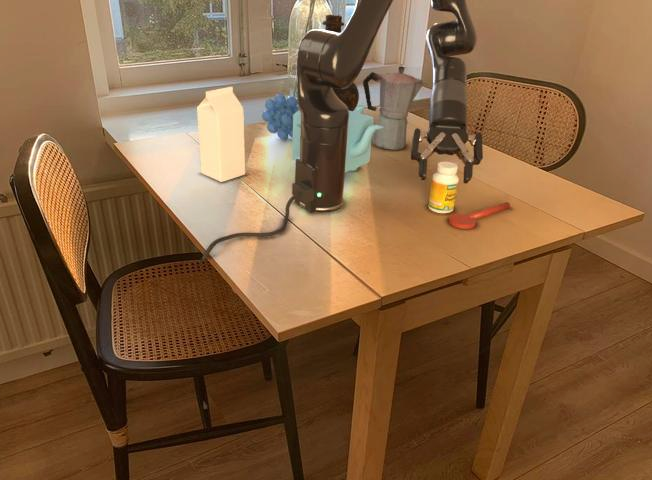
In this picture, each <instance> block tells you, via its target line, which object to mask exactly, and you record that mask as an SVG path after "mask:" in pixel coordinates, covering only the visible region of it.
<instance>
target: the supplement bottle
mask: <svg viewBox="0 0 652 480" xmlns="http://www.w3.org/2000/svg"><path fill="white" fill-rule="evenodd" d="M458 167H459V166H458V164H457V163H455V162H452V161H440V162H438V163H437V167H436V172H434V173H433V175H432V176H431V177H432V178H431V184H430V192H429V197H428V204H427V206H428V209H429V210H430V211H431V212H434V213H437V214H449V213H452V212H453V211H454V209H455V204H456V198H457V193H458V187H459V182H460V177H459V175H458V174H457V173H458V169H459V168H458Z"/></svg>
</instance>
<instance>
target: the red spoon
mask: <svg viewBox="0 0 652 480" xmlns="http://www.w3.org/2000/svg"><path fill="white" fill-rule="evenodd" d="M510 207H511V203H510V202H509V201H505V202H502V203H499V204H496V205H493V206H489V207H487V208H483V209H481V210H478V211H475V212H472V213H469V214H467V213H453V214H451V215H449V218H448V223H449V224H450V226H452V227H454V228H456V229H461V230H469V229H473V228H475V227H476V224H477V220H478V219H481V218H484V217H487V216H490V215H492V214H495V213H499V212H502V211H506V210H508V209H510Z"/></svg>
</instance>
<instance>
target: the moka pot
mask: <svg viewBox="0 0 652 480" xmlns="http://www.w3.org/2000/svg"><path fill="white" fill-rule="evenodd" d="M405 69H406V68H405V67H404V66H398V72H387V73H376V72H373V71H372V72H370V73H369V74H368V75H367V76H366V77H365V78H364V79H363V82H362V85H363V90H364V95H365V99H366V101H365V102H366V104H367V105H366V107H367V109H368V110H369V111H373V112H377V110H378V107H377V106H373V105H372V100H371V92H370V85H369V82H370V81H374V82H375V83H379V106H380V108H379V115H378V118H377V121H376V125H379V126H382V127H383V128H382V129H378V130H377V131H375V132H374V134H373V136H372V139H371V144H372V145H374V146H377V147H378V148H381V149H383V150H392V151H394V150H395V151H397V150H402V149H404V148H405V147H406V144H407V127H408V126H407V125H408V123H409V122H408V117H409V111H410V110H411V109H412V106H413V103H414V101H415V98H416V96H417V95H418V94H419V93H420V91H421V89H422V87H423V86H424V85H426V83H425V82H424V80H423V79H421V78H418V77H415V76H413V75H411V74H406V73H404V72H405Z"/></svg>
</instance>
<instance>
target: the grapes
mask: <svg viewBox="0 0 652 480" xmlns="http://www.w3.org/2000/svg"><path fill="white" fill-rule="evenodd" d="M264 107H265V108H266V110H264V111H263V112H262V114H261V118H262V119H263V121H264V122H266V123H267V125H266V128H267V131H268V132H269V133H271V134H276V135H277V137H278V138H279V139H280V140H287V139H288V138H289V137H290V138H292V139H293V114H295V113H296V112H297V111H300V109H299V107H298V102H297V98H296V97H295V96H291V95H290V96H288V97H286V96H285V95H284V94H283V93H277V94H275V95H274V99H271V98H268V99H267V100H265V103H264Z"/></svg>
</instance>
